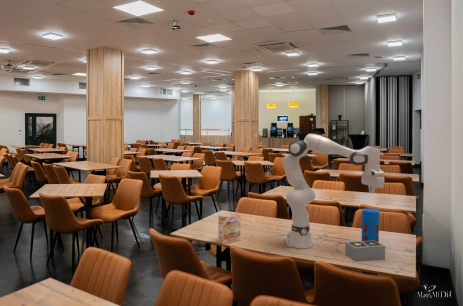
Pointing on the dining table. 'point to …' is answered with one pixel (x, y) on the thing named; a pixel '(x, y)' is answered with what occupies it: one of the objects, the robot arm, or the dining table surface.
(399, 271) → the dining table surface
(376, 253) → the socket block
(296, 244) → the robot arm
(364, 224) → the thermos
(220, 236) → the coffeecake box
